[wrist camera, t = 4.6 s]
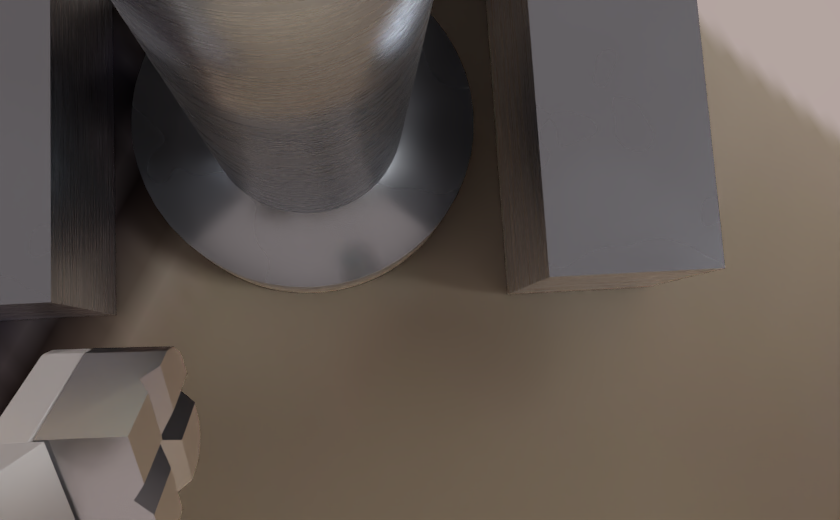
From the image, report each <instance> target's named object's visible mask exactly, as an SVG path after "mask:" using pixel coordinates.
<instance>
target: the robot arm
mask: <svg viewBox="0 0 840 520" xmlns="http://www.w3.org/2000/svg"><path fill="white" fill-rule="evenodd" d="M186 377H187V370H186V367H185V364H184V361H183V357H182V354H181V352H180V351H179V350H178V349H176V348H175V347H174V346H172V347H127V348H93V349H63V350H51V351H49V352H47V353H45V354H43V355H42V356H41V357H40V358H39V360H38V361H37V363H36V364H35V366H34V367H33V369H32V370H31V372H30V373H29V375H28V376H27V378H26V379H25V381H24V382H23V384H22V385H21V387H20V388H19V390H18V391H17V393H16V394H15V396H14V397H13V398H12V400H11V401H10V403H9V404H8V406H7V407H6V409H5V410H4V412H3V413H2V415H1V416H0V520H180V517H181V514H182V511H183V507H182V504H181V500H180V497H179V493H178V492H179V491H180V490H181V489H182V488H183V487H185V486H186V485H187V484H188V483H189V482H190V481H192V480H193V477H194V474H195V470H196V467H197V464H198V460H199V450H200V440H201V435H200V424H199V416H198V412H197V408H196V404H195V402H194V401H193V400H191V399H190V398H189V397H188V396H187V395H185V394H184V393H183V392H182V391H181V390H182V387H183V385H184V382H185V379H186Z"/></svg>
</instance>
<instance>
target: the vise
mask: <svg viewBox="0 0 840 520" xmlns="http://www.w3.org/2000/svg"><path fill="white" fill-rule="evenodd" d="M486 6H487V20H488V33H489V47H490V61H491V75H492V89H493V103H494V116H495V130H496V144H497V158H498V172H499V185H500V199H501V213H502V227H503V241H504V254H505V268H506V282H507V294H524V293H543V292H562V291H581V290H600V289H620V288H639V287H650V286H654V285H658V284H662V283H666V282H670V281H674V280H678V279H683V278H687V277H691V276H695V275H699V274H703V273H707V272H711V271H715V270H720V269H724V268H725V262H724V253H723V243H722V234H721V224H720V215H719V206H718V196H717V187H716V177H715V168H714V159H713V149H712V140H711V130H710V121H709V111H708V102H707V93H706V83H705V74H704V64H703V55H702V46H701V36H700V27H699V17H698V8H697V0H486ZM105 315H116V252H115V172H114V93H113V13H112V2H111V0H0V321H9V320H28V319H47V318H66V317H86V316H105Z"/></svg>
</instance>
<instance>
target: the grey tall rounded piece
mask: <svg viewBox="0 0 840 520" xmlns="http://www.w3.org/2000/svg"><path fill="white" fill-rule="evenodd" d="M111 2H112V3H113V5H114V6H115V8H116V9H117V11H118V12H119V14H120V15H121V17H122V18H123V20H124V21H125V23H126V24H127V26H128V27H129V29H130V30H131V32H132V33H133V35H134V36H135V38H136V39H137V41H138V43H139V44H140V46H141V47H142V49H143V50H144V52H145V53H146V55H145V57H144V59H143V62H142V65H141V68H140V71H139V74H138V77H137V80H136V85H135V90H134V95H133V100H132V116H131V128H132V140H133V147H134V152H135V156H136V161H137V165H138V168H139V171H140V174H141V176H142V179H143V182H144V184H145V187H146V189H147V191H148V193H149V194H150V196H151V198H152V200H153V202H154V204H155V205H156V207H157V209H158V210H159V211H160V213H161V214H162V215H163V217H164V218H165V220H166V221H167V222H168V224H169V225H170V226H171V227H172V228H173V229H174V230H175V231H176V232H177V233H178V234H179V235H180V236H181V238H182V239H183V240H184V241H185V242H186V243H188V244H189V245H190V246H192V247H193V248H194V249H195V250H197V251H198V252H199V253H200V254H202V255H203V256H204V257H206V258H207V259H208V260H210V261H211V262H213V263H214V264H215V265H217V266H219V267H220V268H222V269H224V270H225V271H227V272H229V273H230V274H232V275H234V276H236V277H238V278H241V279H243V280H245V281H248V282H250V283H252V284H255V285H259V286H262V287H266V288H269V289H273V290H279V291H286V292H293V293H322V292H330V291H338V290H342V289H346V288H350V287H354V286H357V285H360V284H363V283H365V282H368V281H370V280H373V279H375V278H377V277H379V276H381V275H383V274H385V273H386V272H388V271H390V270H392V269H394V268H395V267H396V266H398V265H399V264H401V263H402V262H403V261H405V260H406V259H407V258H409V257H410V256H411V255H412V254H413V253H414V252H415V251H416V250H417V249H418V248H419V247H420V246H422V245H423V244H424V243H425V242H426V240H427V239H428V238H429V236H430V235H431V234H432V233H433V231H434V230H435V229H436V228H437V226H438V225H439V223H440V222H441V220H442V219H443V217H444V216H445V214H446V213H447V211H448V209H449V208H450V206H451V204H452V203H453V201H454V199H455V197H456V196H457V194H458V191H459V189H460V186H461V184H462V182H463V179H464V177H465V174H466V170H467V167H468V163H469V159H470V156H471V149H472V141H473V106H472V99H471V92H470V88H469V85H468V81H467V77H466V74H465V71H464V68H463V66H462V64H461V61H460V59H459V56H458V54H457V52H456V50H455V48H454V47H453V45H452V43H451V42H450V40H449V38H448V36H447V35H446V33H445V32H444V31H443V29H442V28H441V27H440V25H439V24H438V23H437V21H436V20H435V19H434V18H433V16H432V15H431V14H430V12H431V8H432V4H433V0H111Z"/></svg>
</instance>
